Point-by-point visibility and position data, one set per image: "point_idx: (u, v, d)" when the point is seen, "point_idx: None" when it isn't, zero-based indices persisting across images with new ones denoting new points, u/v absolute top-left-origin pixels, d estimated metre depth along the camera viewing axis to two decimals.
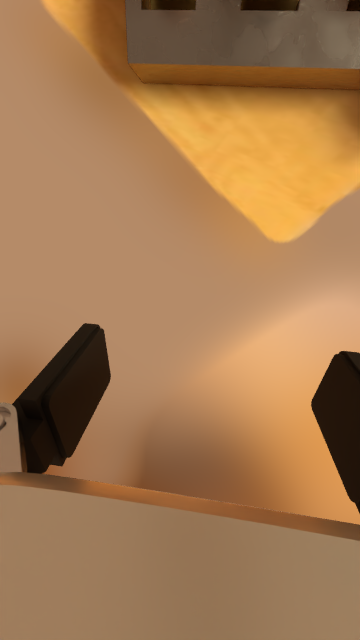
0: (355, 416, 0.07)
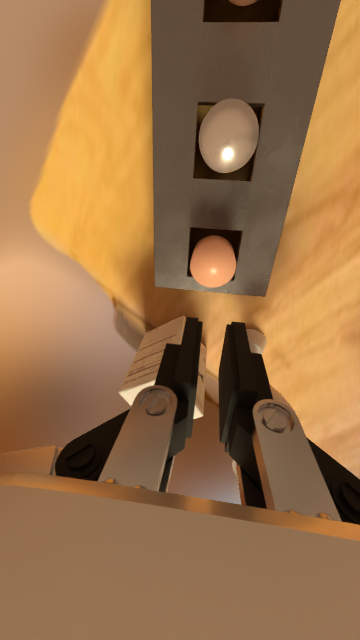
0: (226, 372, 0.09)
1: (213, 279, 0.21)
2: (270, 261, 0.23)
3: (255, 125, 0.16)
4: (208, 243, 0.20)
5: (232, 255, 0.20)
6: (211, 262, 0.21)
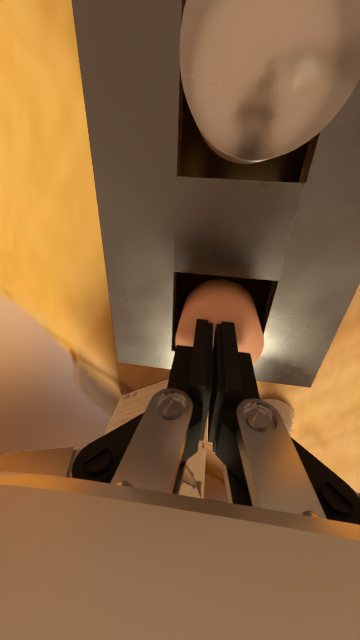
0: (214, 371, 0.09)
1: None
2: (327, 335, 0.12)
3: None
4: (210, 305, 0.10)
5: (257, 328, 0.10)
6: None
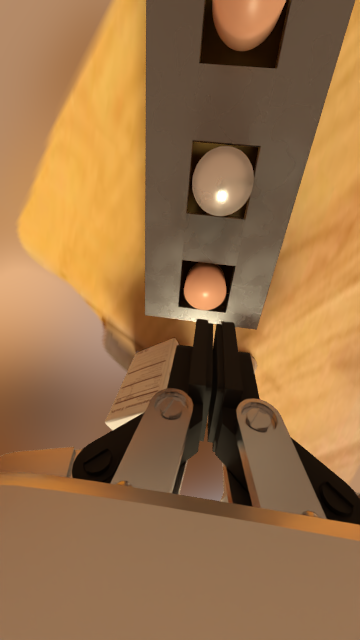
0: (214, 371, 0.09)
1: (205, 303, 0.23)
2: (262, 296, 0.23)
3: (250, 173, 0.15)
4: (201, 271, 0.22)
5: (223, 283, 0.22)
6: (203, 288, 0.22)
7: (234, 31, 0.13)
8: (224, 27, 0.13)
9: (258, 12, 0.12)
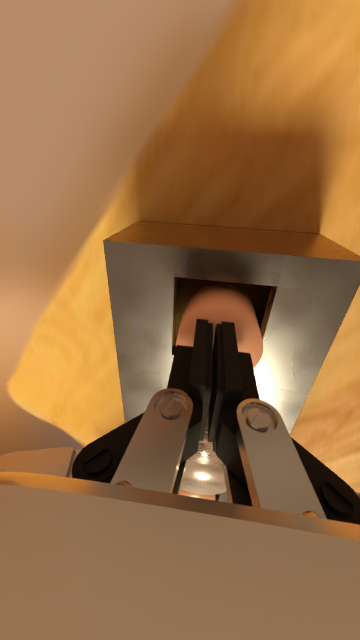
0: (214, 371, 0.09)
1: None
2: None
3: None
4: None
5: (211, 496, 0.21)
6: (191, 496, 0.21)
7: None
8: None
9: None
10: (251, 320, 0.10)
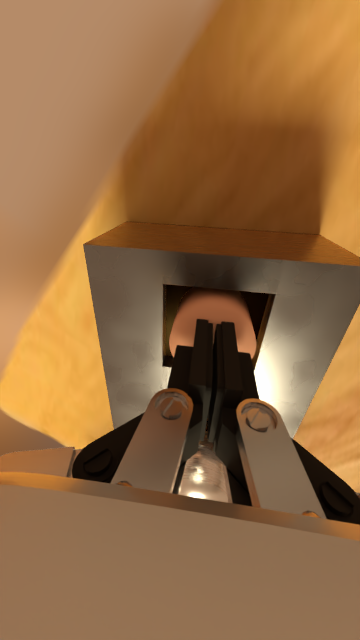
0: (214, 371, 0.09)
1: None
2: None
3: (224, 497, 0.13)
4: None
5: None
6: None
7: None
8: None
9: None
10: (244, 317, 0.10)
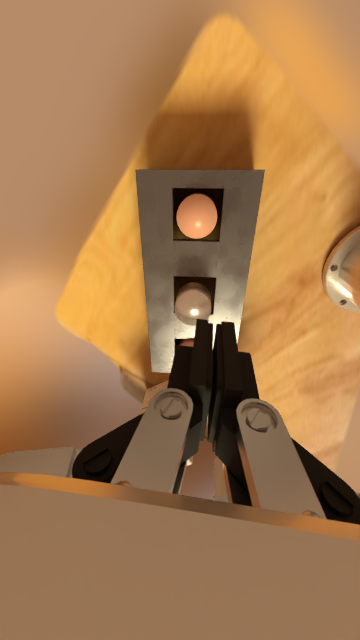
0: (214, 371, 0.09)
1: None
2: None
3: (208, 305, 0.25)
4: None
5: None
6: None
7: None
8: None
9: (201, 234, 0.24)
10: (210, 199, 0.23)
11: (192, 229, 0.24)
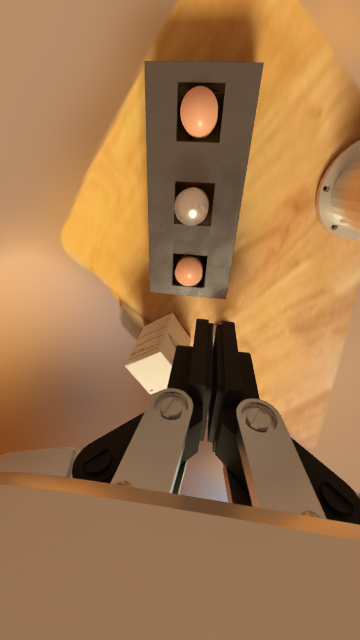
0: (214, 371, 0.09)
1: (189, 281, 0.35)
2: (227, 275, 0.35)
3: (206, 201, 0.27)
4: (185, 260, 0.34)
5: (199, 267, 0.34)
6: (187, 271, 0.34)
7: (193, 135, 0.27)
8: (188, 132, 0.27)
9: (202, 130, 0.26)
10: (212, 92, 0.24)
11: (194, 124, 0.26)
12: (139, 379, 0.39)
